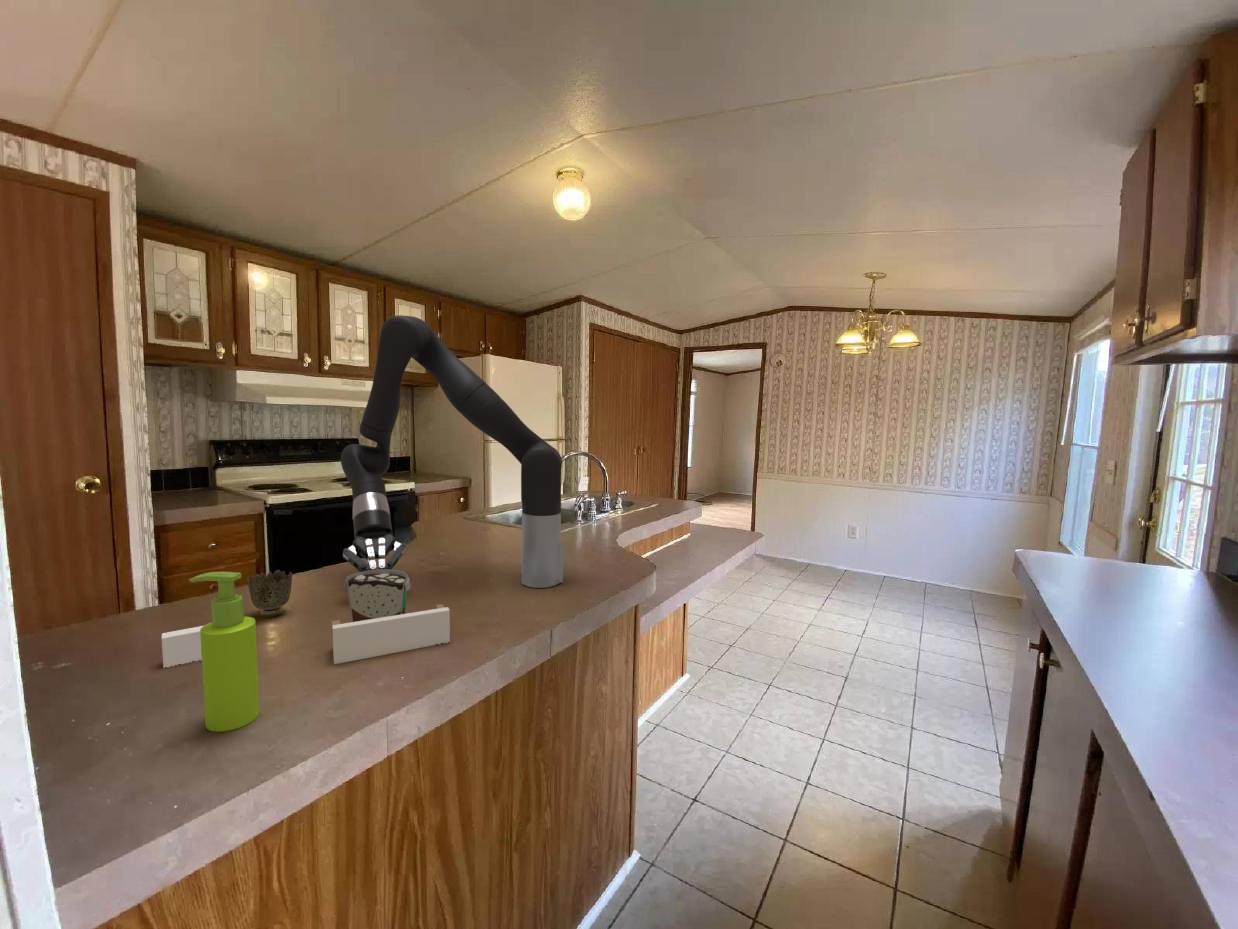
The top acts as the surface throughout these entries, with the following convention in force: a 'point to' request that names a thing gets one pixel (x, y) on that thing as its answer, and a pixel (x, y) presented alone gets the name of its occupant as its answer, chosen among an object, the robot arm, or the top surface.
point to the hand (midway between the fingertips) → (379, 587)
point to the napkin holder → (181, 646)
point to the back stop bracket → (390, 634)
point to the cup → (270, 592)
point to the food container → (377, 594)
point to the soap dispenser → (228, 658)
